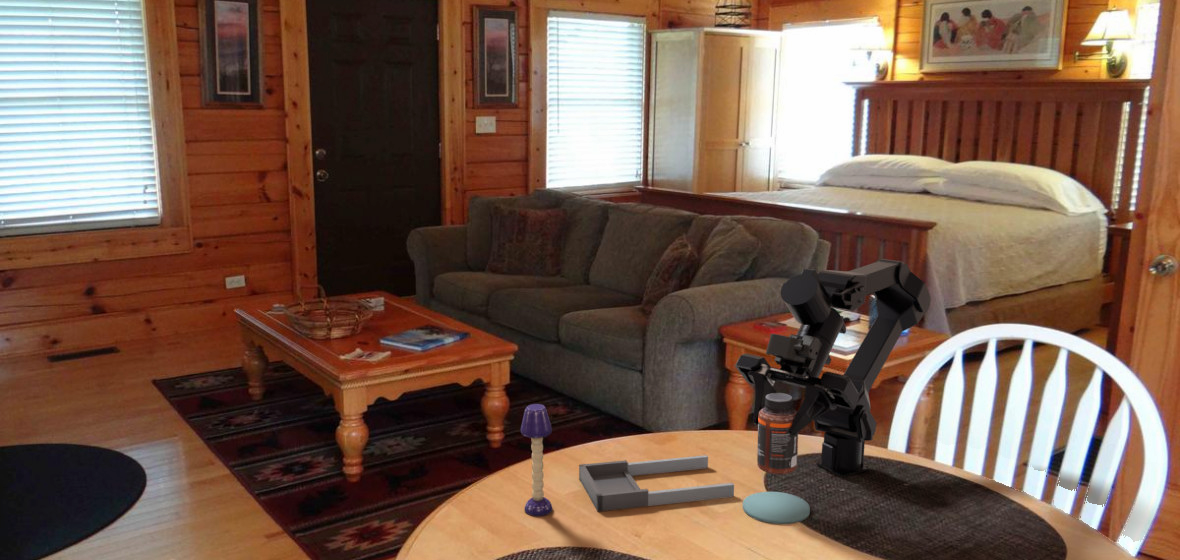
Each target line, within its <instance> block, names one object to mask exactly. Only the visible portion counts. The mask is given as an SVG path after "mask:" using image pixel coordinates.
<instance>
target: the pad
mask: <svg viewBox="0 0 1180 560" xmlns="http://www.w3.org/2000/svg"><path fill="white" fill-rule="evenodd" d="M742 509H743V511H744V513H745V514H746V515H747V516H748V517H750V518H752V519H753V520H756V521H759V522H763V523H768V524H773V525H790V524H796V523H800V522H802V521H804V520H806V519H807V518H808V517H809V516H810V512H811V508H810V505H809V503H808V502H807V501H806V500H805V499H803V498H802V497H799V496H797V495H794V494H790V493H786V492H782V491H781V492H780V491H761V492H755V493H752V494H749V495H747V496H746V497H744V499H743V501H742Z"/></svg>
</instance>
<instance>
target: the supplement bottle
mask: <svg viewBox="0 0 1180 560" xmlns="http://www.w3.org/2000/svg"><path fill="white" fill-rule="evenodd" d="M793 398H794V397H793V396H791V395H790V394H788V393H783V392H777V393H771V394H768V395H766V397H765V407H764V408H762V409H761V410H760V412H759V415H758V425H757V453H756V454H757V455H756V456H757V457H756V459H757V460H756V461H757V462H756V463H757V467H758V468H759V469H760V470H761V471H763V472H765V473H768V474H770V475H788V474H791V473H794V472H795V471H796V470H797V468H798V454H799V453H798V451H799V450H798V448H799V432H798V433H797V434H795V435H791V434H790V432H789V431H790V428H791V425H792V422H793V420H794V418H795V416H796V414H797V412H798V411H797V410H796V409H795V408H793V405H794V403H793V402H794V401H793Z"/></svg>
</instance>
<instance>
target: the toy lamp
mask: <svg viewBox="0 0 1180 560" xmlns="http://www.w3.org/2000/svg"><path fill="white" fill-rule="evenodd" d="M552 430H553V428H552V424H551V421H550V417H549V414H548V411H547V408H546V406H545V405H544V404H540V403H532V404H529V405H528V406H526V407H525V409H524V413H523V417H522V422H521V426H520V434H521V435H522V436H524V437H527V438H528V439H529V438H530V439H531V445H530V447H531V448H530V449H531V451H532V453H531V460H532V463H531V470H532V472H531V479H532V482H531V488H532V492H531V496H532V497H531V498H529V499H528V500H527V501H526V503H525V505H524V512H525V513H526V514H527V515H531V516H534V517H541V516H547V515H549V514H551V513H552V512H553V505H552V502H551V501H550V499H548V498H547V497H544V495H545V494H544V490H543V489H544V487H545V486H544V485H545V484H544V477H545V476H544V471H543V470H544V465H545V464H544V462H543V460H544V453H543V450H544V445H543V444H544V443H543V440H544V438H546V437H549V435H551V433H552Z"/></svg>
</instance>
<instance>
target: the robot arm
mask: <svg viewBox="0 0 1180 560" xmlns="http://www.w3.org/2000/svg"><path fill="white" fill-rule="evenodd" d="M871 294H872V295H873V297H874V298H875V307H876V312H877V316H876V318H875V320H874V321H873V323H872V325H871V326H870V328H869V330H868V332H867V333H866V335H865V337H864V338H863V340H862V342H861V343H860V345H859V347H858V349H857V350H856V352H855V353H854V355H853V357H852V359H851V361H850V362H849V364H848V366H847V368H846V369H845V372H844V373H843V374H841V373H835V372H830V371H825V372H823V373H822V371H823V369H824V367H825V365H831V362H832V358H831V356H830V353H831V351H832V349H833V347H834V345H835V343H836V340H837V338H838V336H839V334H843V335H844V334H846V333H847V326H846V324H845V322H844V316H842V315H841V314H840V312H839V311H838V310H843V311H849V312H854V311H856V310H857V309H859V308H860V307H861V306H863V305H864V304H865V302H866V296H869V295H871ZM780 297H781V299H782V300H783V302H784V304H785V305H786V307H787V308H788V310H789V312H790V313H791V315H792V316H793V318H794V319H795V320H794V321H796V322H797V324H800V326H799V328H798V331H797V332H796V334H792V333H791V334H790V335H789V336H786V335H783V334H776V333H770V337H769V340H768V343H767V348H766V351H765V355H768V356H770V355H771V356H773V357H775V358H774V362H775V363H776V365H778V366H780V367H779V368H776V367H773V366H771V365H770V364H769V362H768V361H767V360H766V358H765V357H764V356H760V355H755V354H751V353H743V354H741V355H740V356H739V357H738V359H737V361H736V363H735V364H734V367H735V369H736V370H737V371H738V372H739V374H740V375H741V376H742V378H743V379H744V380H745V381H746V383H748V384H749V385H751V386H754V390H755V391H754V392H755V393H754V394H755V395H754V396H755V398H754V408H753V409H754V410H753V419H752V421H753V424H754V425H755V426H758V415H759V412H760V410H761V409H762V408H764V407H765V397H766V395H768V394H771V393H778V392H777V390H776V389H775V387H774V385H775V382H778V383H781V384H786V385H791V386H794V387H798V388H803V389H805V391H804V398H803V401H802V402H801V404H800V406H799V408H798V410H797V411H796V412H797V414H796V416H795V418H794V420H793V422H792V425H791V428H790V431H789V432H790V434H791V435H795V434H797V433H798V434H799V432H800V431H802V430H803V429H804V428H805V427H807V426H808V425H809V424H810V423H812V422H814V423H813V424H814V428H815V431H817V432H823V441H822V444H821V459H820V460H816V461H815V465H816V466H819V467H820V468H823V469H825V470H827V471H829V472H830V473H832V474H835V475H836V476H838V477H840V478H844V477H849V476H853V475H857V474H860V473H864V472H868V471H870V470H871V466H869V465H867V464H865V463H864V460H865V442H866V441H867V442H869V441H873V440H874V439H873V438H874V436H875V434H876V430H877V429H876V428H877V421H876V419H875V418H874V416H873V414H872V413H871V408H872V407H871V403H870V401H871V400H870V397H869V393H870V390H871V389H872V387H873V386H874V383H875V381H876V380H877V378H878V376H879V374H880V372H881V370H882V369H883V367H884V365H885V363H886V361H887V360H888V358H889V356H890V355H891V354H892V353H891V352H892V351H893V349H894V347H895V345H896V344H897V342H898V340H899V338H900V336H901V334H902V333H903V332H904V331H906V330H908V329H910V328H913V327H915V326H917V325H918V324H919V322H920V321H921V320H922V319H923V317H924V315H925V314H926V313H927V312H928V310H929V309H930V306H931V294H930V291H929V290H928V287H927V286H926V284H925V281H923V280H922V279H921V278H919V276H917V275H916V274H915V273H913V272H912V271H911V270H910V267H909V265H908V264H907V263H905V262H903V261H901V260H893V259H887V258H886V259H884V258H880V259H877V260H876V261H875V262H873V263H870V264H867V265H863V266H861V267H857V268H854V269H851V270H848V271H842V270H834V269H833V270H830V269H829V270H826V269H822V270H820V271H818V272H817V271H816V270H815V269H811V268H810V269H809V268H803V269H802V272H801V273H800V274H799V273H798V274H796V275H794V276H792V277H790V278H788V280H787V281H785V282H784V283H783V284H782V286H781V289H780ZM821 373H822V376H821V377H820V375H821Z"/></svg>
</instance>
